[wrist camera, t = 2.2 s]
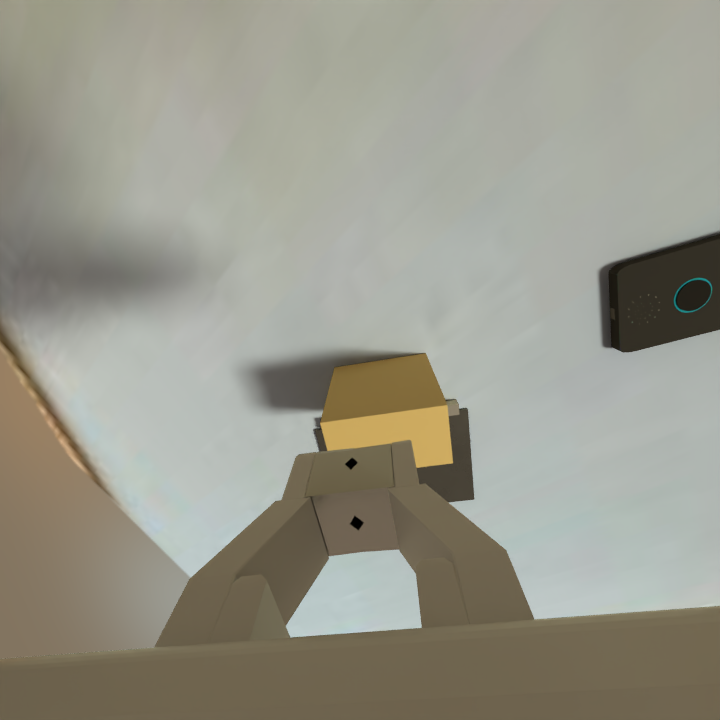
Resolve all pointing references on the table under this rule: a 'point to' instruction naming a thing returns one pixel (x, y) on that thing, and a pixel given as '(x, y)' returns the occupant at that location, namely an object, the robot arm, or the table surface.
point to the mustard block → (388, 408)
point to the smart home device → (665, 296)
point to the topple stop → (446, 478)
